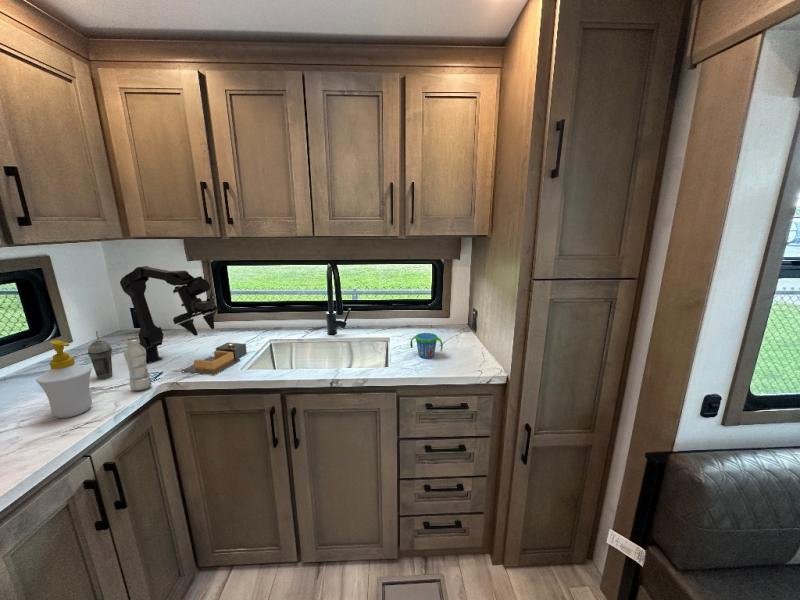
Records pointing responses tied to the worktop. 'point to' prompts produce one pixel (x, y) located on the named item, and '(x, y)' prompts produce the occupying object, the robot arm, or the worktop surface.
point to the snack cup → (426, 344)
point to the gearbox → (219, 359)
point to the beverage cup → (101, 358)
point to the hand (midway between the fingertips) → (205, 332)
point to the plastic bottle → (137, 365)
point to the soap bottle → (66, 384)
